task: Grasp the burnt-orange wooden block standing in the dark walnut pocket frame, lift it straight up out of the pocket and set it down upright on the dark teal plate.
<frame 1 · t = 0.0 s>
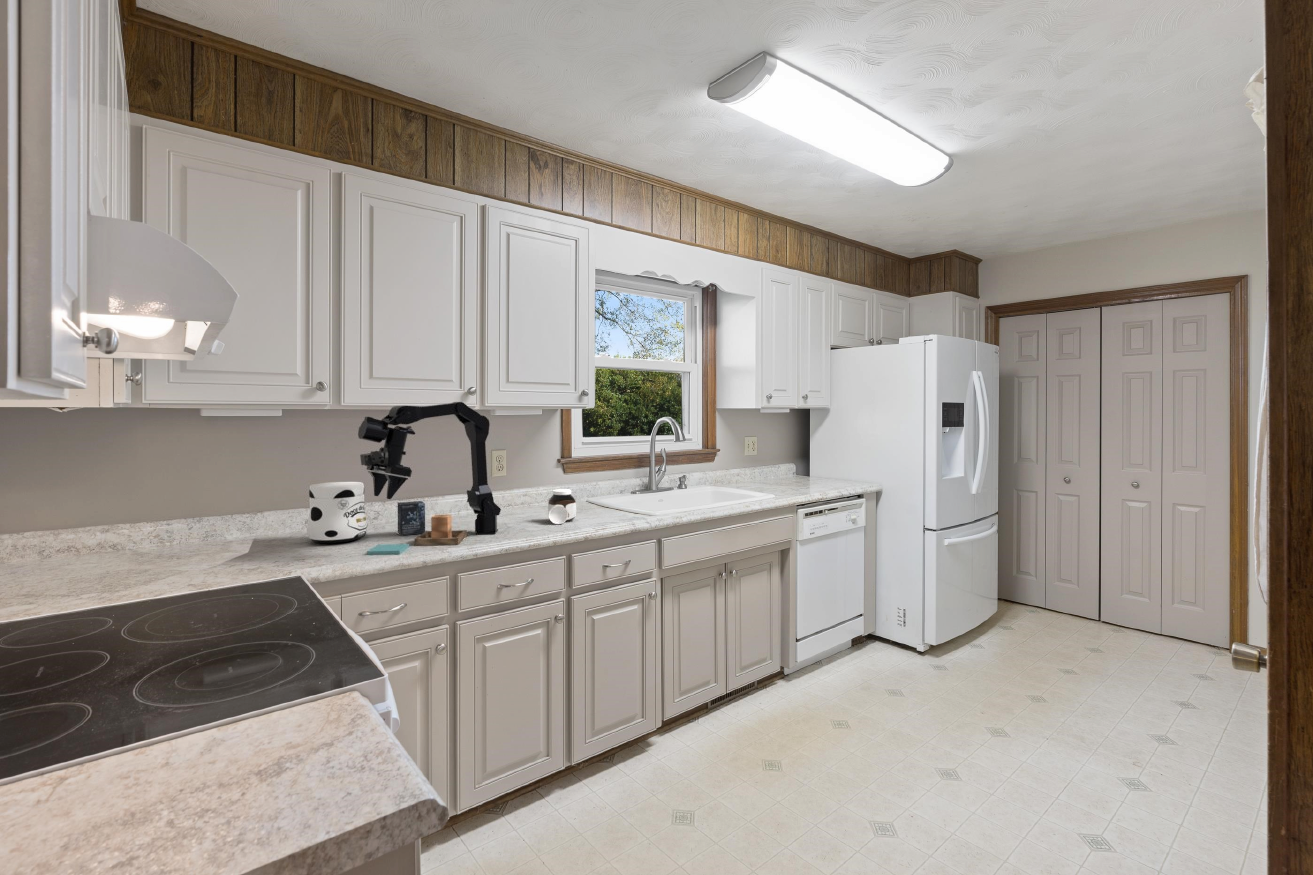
hand: (382, 497, 183), 15 cm above the countertop, tool pointing down, fingers open, 9 cm apart
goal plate: (388, 550, 181), on the countertop
block: (441, 528, 195), in the pocket frame
milk container: (338, 541, 196), on the countertop
pocket frame: (441, 540, 195), on the countertop
box: (411, 534, 207), on the countertop
spread jar: (561, 522, 228), on the countertop
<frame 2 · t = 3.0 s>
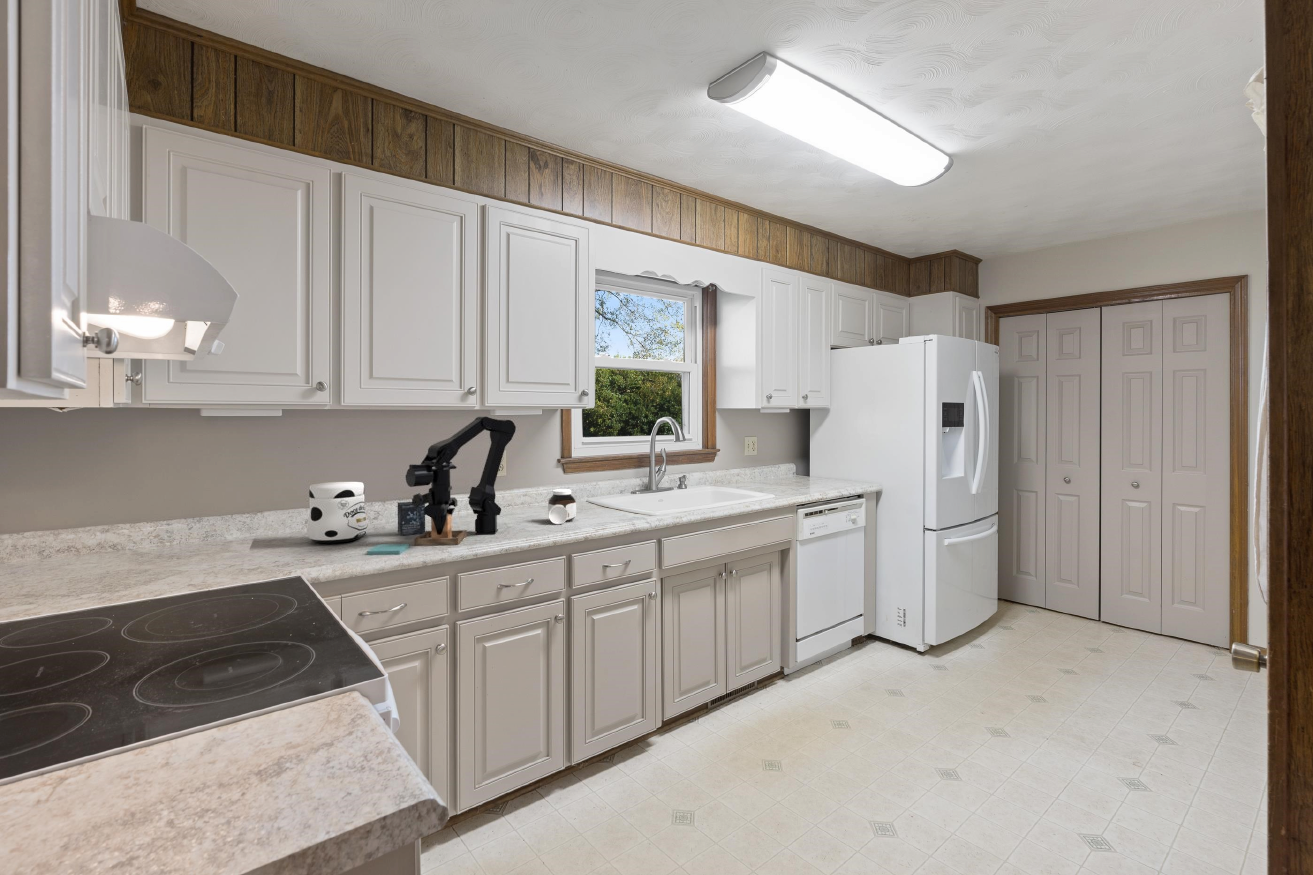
hand: (441, 532, 195), 3 cm above the countertop, tool pointing down, fingers closed on block, 5 cm apart
block: (441, 528, 195), in the pocket frame, touching gripper
everything else where it was.
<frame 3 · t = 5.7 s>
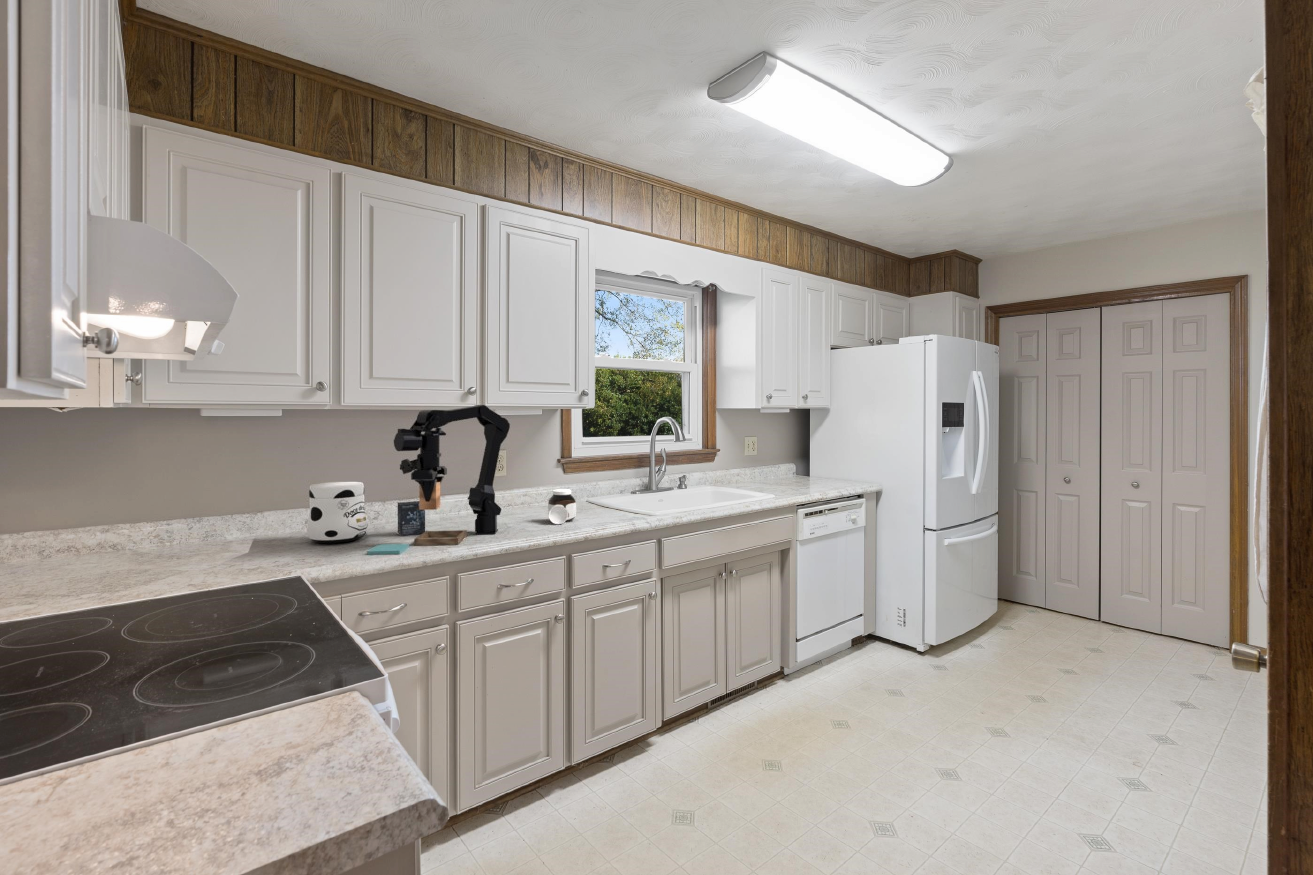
hand: (429, 500, 191), 13 cm above the countertop, tool pointing down, fingers closed on block, 5 cm apart
block: (429, 495, 191), point 15 cm above the countertop, touching gripper
everything else where it was.
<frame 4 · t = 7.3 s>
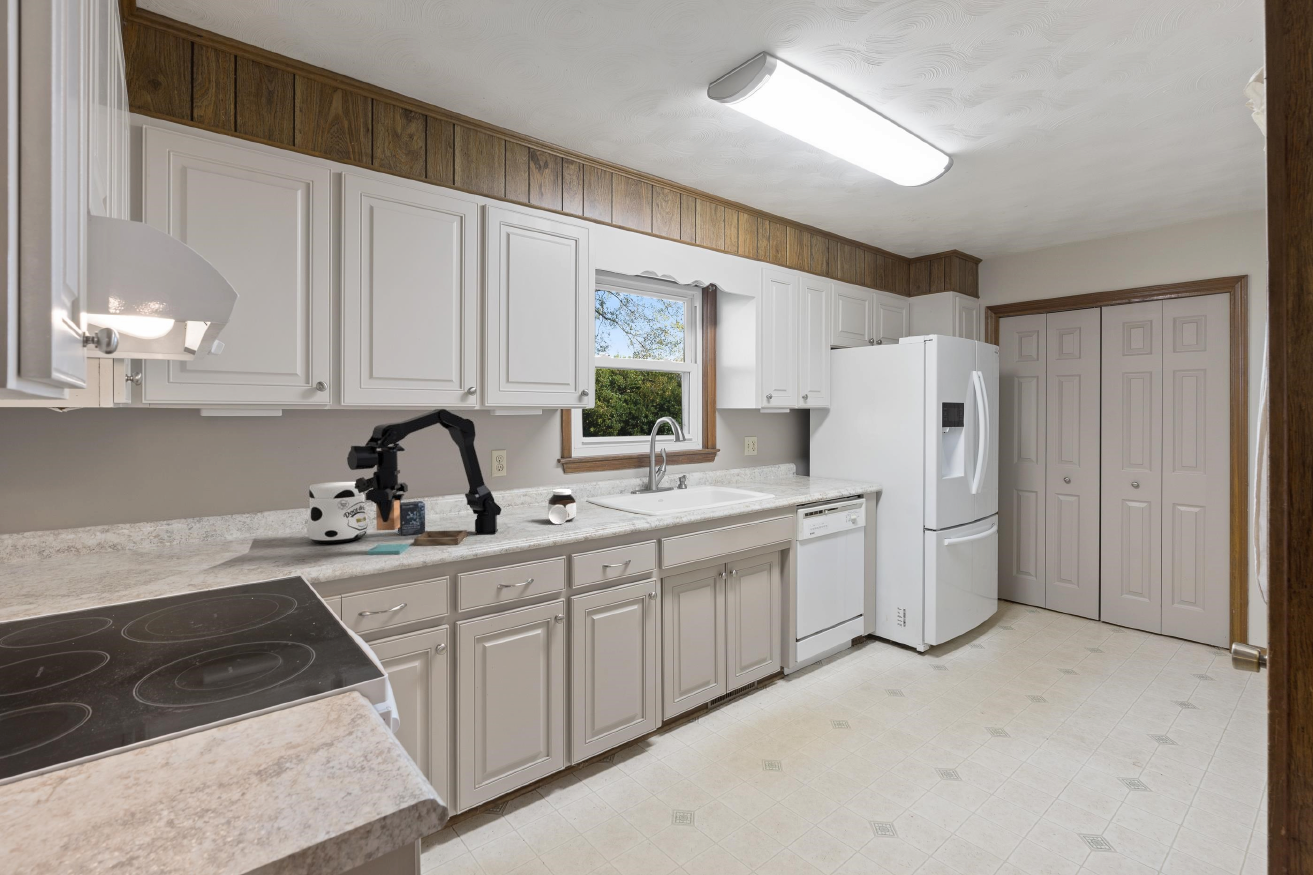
hand: (388, 520, 181), 9 cm above the countertop, tool pointing down, fingers closed on block, 5 cm apart
block: (388, 515, 181), point 11 cm above the countertop, touching gripper
everything else where it was.
when the fingers open (5 cm above the countertop, at t = 8.8 s): block drops 1 cm, resting on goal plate.
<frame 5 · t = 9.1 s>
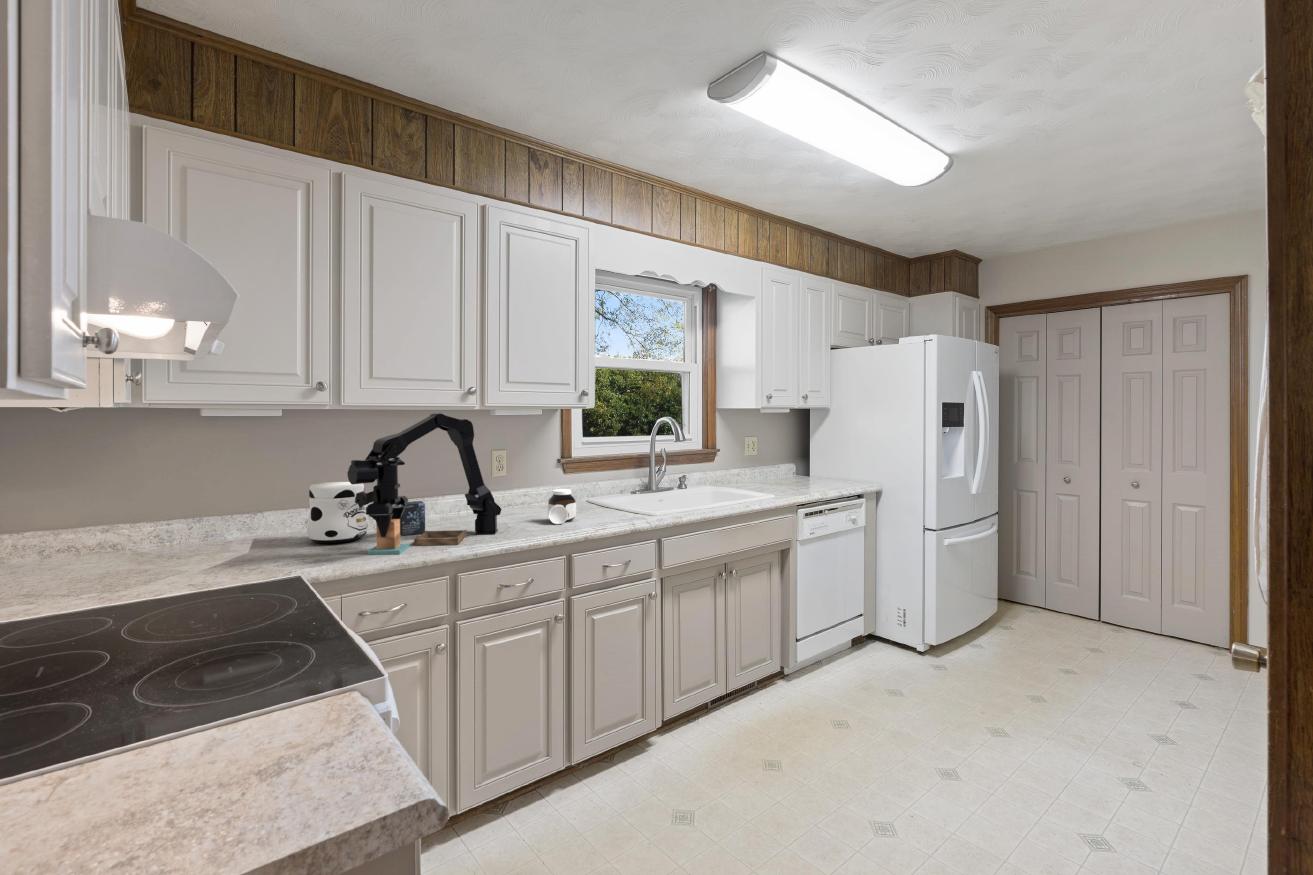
hand: (388, 534, 181), 5 cm above the countertop, tool pointing down, fingers open, 8 cm apart
block: (388, 533, 181), on the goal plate, point 5 cm above the countertop
everything else where it was.
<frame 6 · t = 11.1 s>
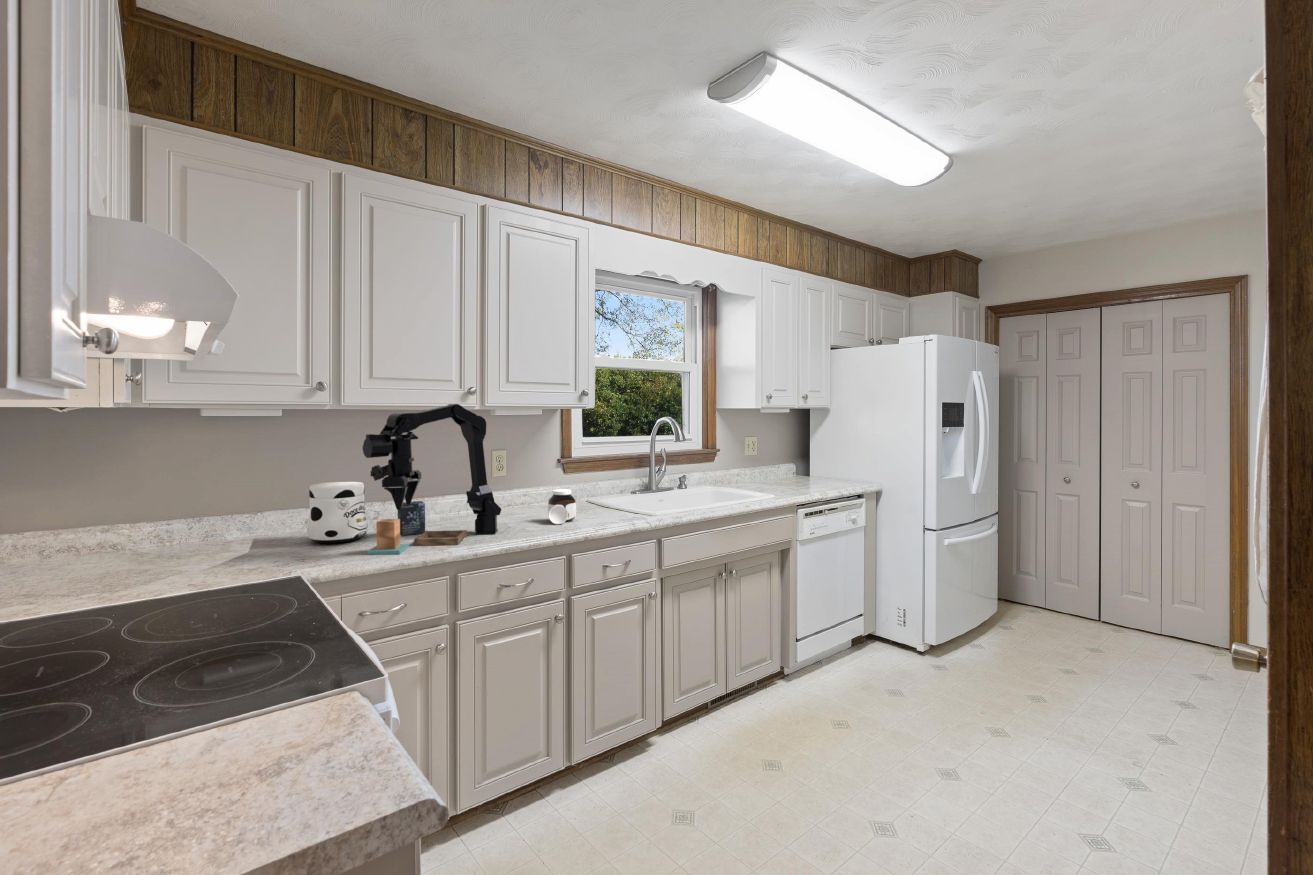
hand: (403, 506, 185), 12 cm above the countertop, tool pointing down, fingers open, 9 cm apart
nothing on the countertop moved.
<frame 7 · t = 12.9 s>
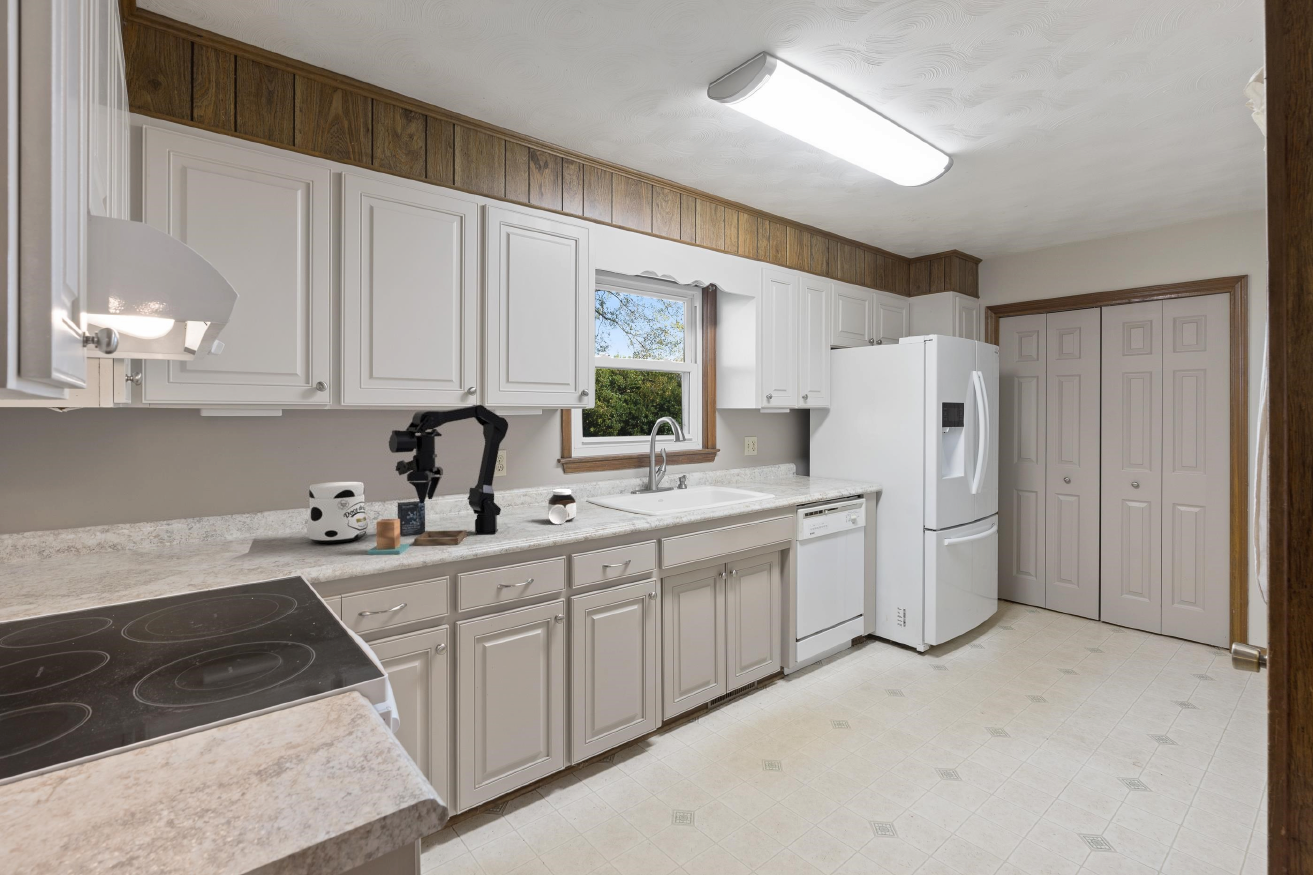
hand: (426, 501, 192), 13 cm above the countertop, tool pointing down, fingers open, 9 cm apart
nothing on the countertop moved.
at the end: block 0.1 cm off-centre on the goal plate, point 5.0 cm above the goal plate's base; block tilted 0°; the gripper is holding nothing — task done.
